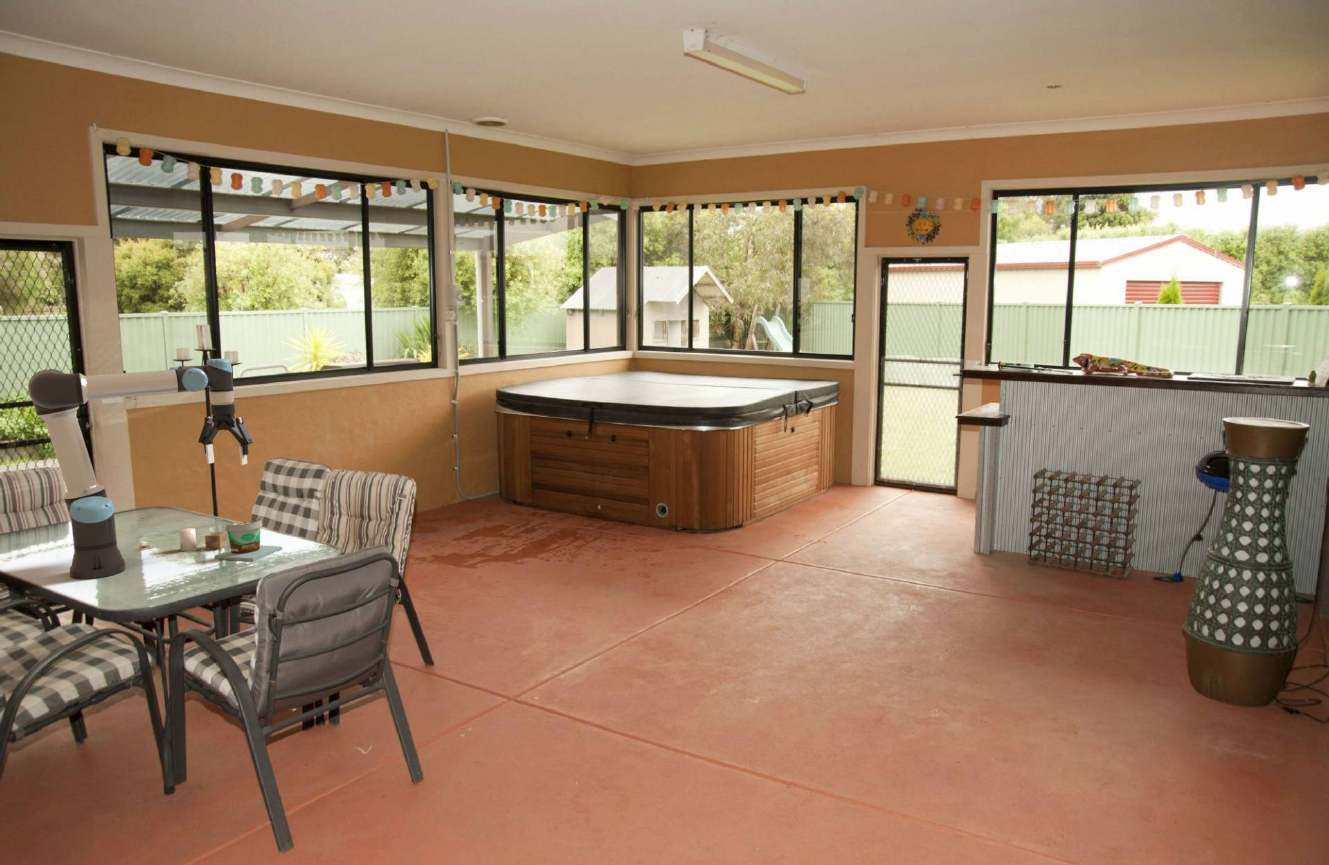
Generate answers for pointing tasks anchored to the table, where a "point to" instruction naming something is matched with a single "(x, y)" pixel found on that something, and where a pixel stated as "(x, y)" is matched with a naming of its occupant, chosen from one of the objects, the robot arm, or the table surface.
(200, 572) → the table surface
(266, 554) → the teal board
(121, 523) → the table surface
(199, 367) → the robot arm
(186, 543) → the cream cylinder
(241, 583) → the table surface
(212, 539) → the walnut block
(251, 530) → the food container
